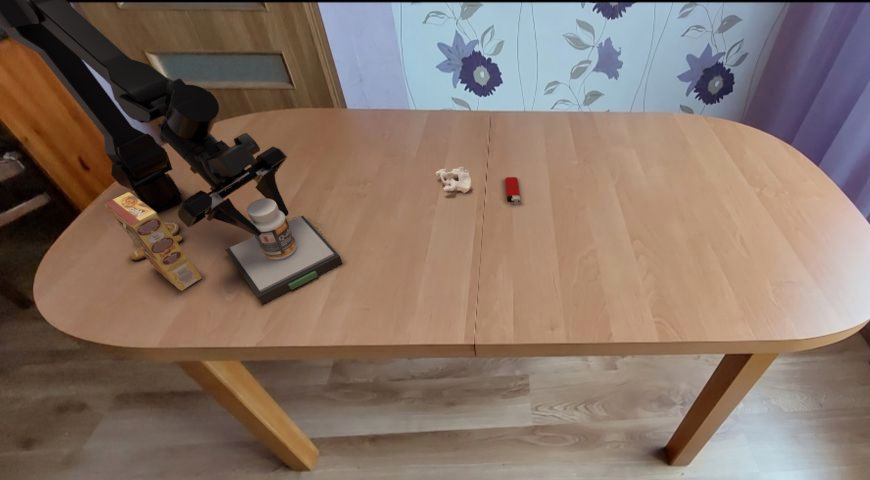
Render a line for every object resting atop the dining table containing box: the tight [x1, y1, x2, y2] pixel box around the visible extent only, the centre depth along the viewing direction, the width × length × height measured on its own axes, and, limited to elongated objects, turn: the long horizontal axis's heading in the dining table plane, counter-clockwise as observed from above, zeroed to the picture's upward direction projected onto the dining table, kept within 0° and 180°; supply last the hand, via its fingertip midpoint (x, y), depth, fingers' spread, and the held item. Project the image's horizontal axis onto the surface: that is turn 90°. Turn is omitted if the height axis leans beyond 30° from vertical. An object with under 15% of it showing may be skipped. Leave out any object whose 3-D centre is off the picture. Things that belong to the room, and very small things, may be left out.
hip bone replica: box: [435, 166, 472, 194], centre depth 101 cm, size 8×4×7 cm
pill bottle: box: [246, 197, 296, 260], centre depth 81 cm, size 6×6×10 cm
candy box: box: [104, 191, 202, 292], centre depth 78 cm, size 9×4×15 cm, turn 54°
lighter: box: [504, 176, 521, 205], centre depth 101 cm, size 3×1×8 cm
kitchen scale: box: [225, 215, 343, 305], centre depth 85 cm, size 15×16×3 cm
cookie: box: [129, 222, 183, 261], centre depth 88 cm, size 8×1×10 cm
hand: (273, 224), depth 79 cm, fingers closed on pill bottle, 6 cm apart
